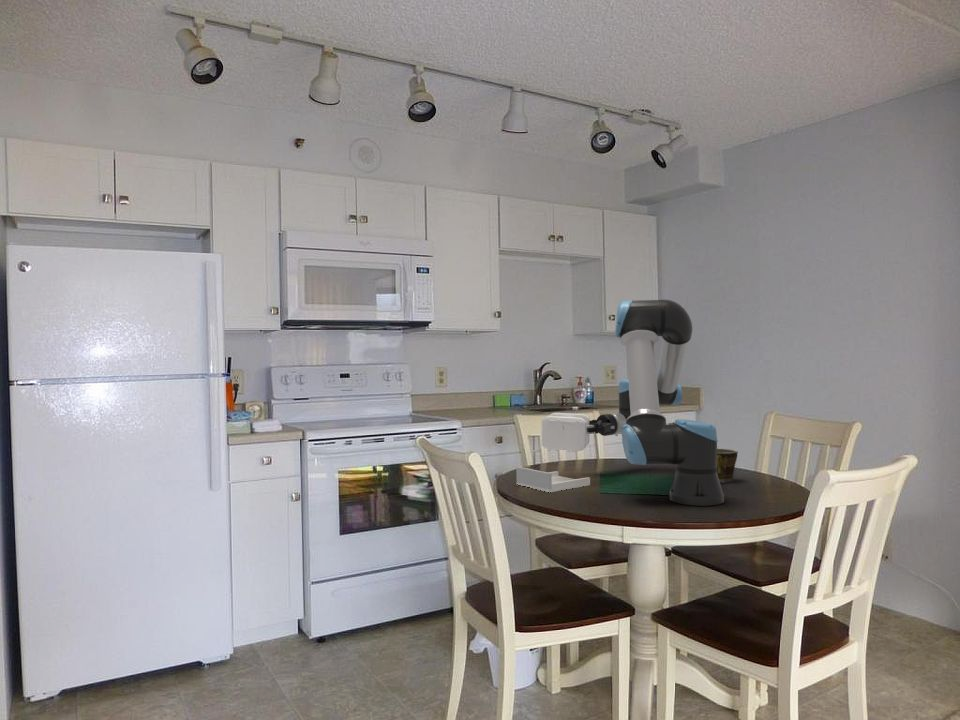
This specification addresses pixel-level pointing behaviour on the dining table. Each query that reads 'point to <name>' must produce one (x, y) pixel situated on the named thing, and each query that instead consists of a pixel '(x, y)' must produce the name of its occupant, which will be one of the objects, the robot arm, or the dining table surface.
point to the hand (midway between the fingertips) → (565, 429)
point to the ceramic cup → (726, 464)
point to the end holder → (547, 480)
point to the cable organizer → (565, 432)
